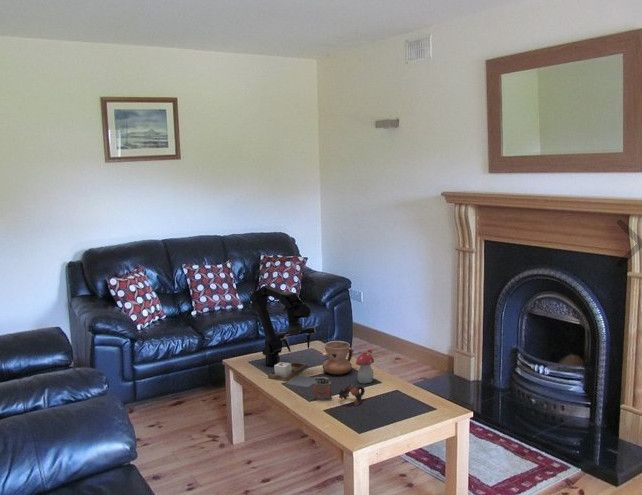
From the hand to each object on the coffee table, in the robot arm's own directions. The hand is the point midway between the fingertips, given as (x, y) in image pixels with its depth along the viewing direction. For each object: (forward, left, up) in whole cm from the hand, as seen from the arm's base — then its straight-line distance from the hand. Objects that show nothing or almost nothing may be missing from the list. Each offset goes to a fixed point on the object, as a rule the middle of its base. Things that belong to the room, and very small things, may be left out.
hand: (299, 350), depth 294 cm
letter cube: (-6, -6, -12) cm, 15 cm away
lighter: (+24, -23, -13) cm, 35 cm away
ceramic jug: (+15, +11, -13) cm, 23 cm away
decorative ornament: (+33, +4, -13) cm, 35 cm away
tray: (-6, -1, -12) cm, 14 cm away
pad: (+6, -8, -13) cm, 16 cm away
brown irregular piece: (+37, -20, -13) cm, 44 cm away
